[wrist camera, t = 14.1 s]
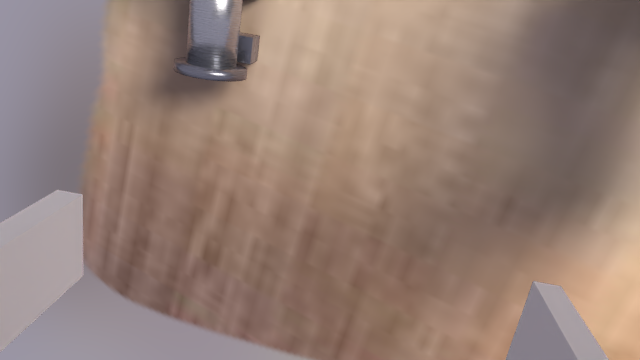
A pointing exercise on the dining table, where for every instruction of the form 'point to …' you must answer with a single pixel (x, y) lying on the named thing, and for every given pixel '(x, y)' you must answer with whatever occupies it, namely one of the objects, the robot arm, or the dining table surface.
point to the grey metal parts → (217, 42)
